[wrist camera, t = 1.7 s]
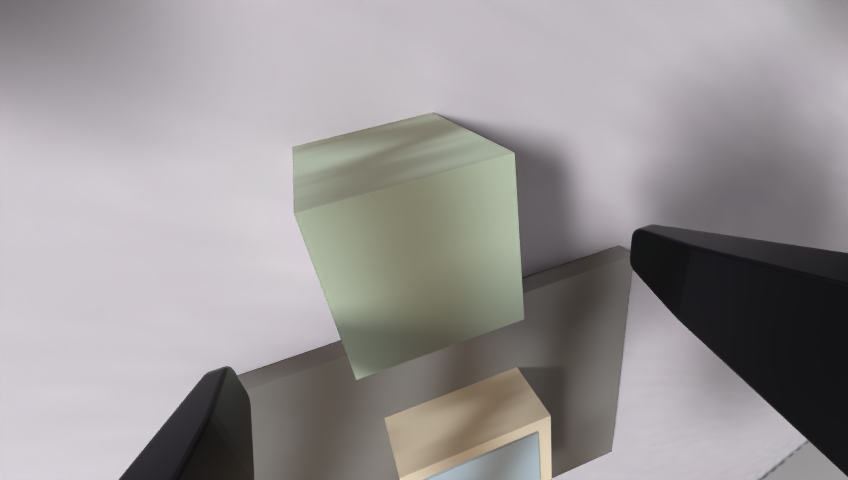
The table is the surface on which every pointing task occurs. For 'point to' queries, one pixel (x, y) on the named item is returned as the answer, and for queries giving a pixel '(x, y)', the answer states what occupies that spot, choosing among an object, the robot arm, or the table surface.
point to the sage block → (410, 237)
